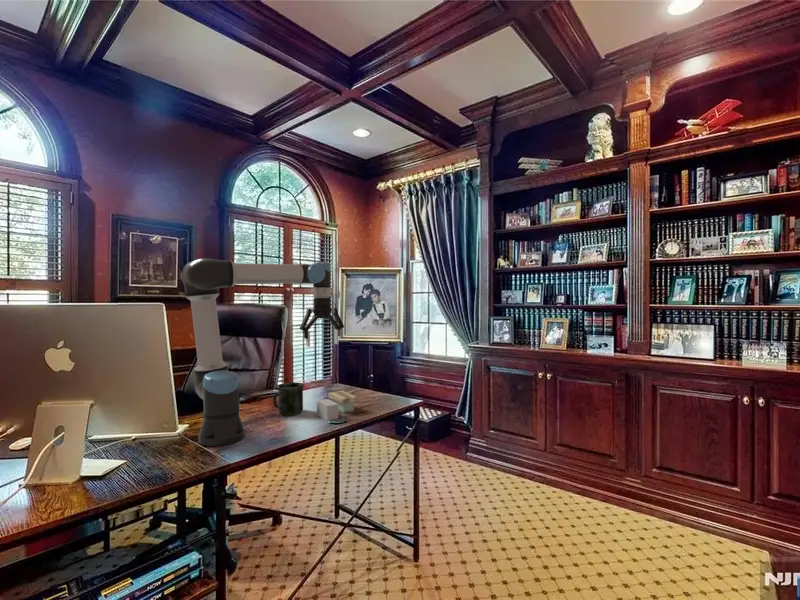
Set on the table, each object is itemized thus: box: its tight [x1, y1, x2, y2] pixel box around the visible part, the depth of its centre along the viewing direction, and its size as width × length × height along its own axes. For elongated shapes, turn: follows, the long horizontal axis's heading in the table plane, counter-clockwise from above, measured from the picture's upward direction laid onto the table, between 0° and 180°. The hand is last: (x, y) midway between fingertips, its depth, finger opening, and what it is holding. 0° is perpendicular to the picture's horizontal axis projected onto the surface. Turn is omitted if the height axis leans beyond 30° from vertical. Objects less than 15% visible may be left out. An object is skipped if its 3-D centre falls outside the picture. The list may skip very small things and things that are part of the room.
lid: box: [327, 390, 358, 404], centre depth 184 cm, size 7×14×2 cm, turn 34°
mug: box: [272, 382, 304, 416], centre depth 179 cm, size 11×15×12 cm
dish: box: [330, 398, 355, 414], centre depth 184 cm, size 5×12×4 cm, turn 34°
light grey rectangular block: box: [316, 398, 339, 422], centre depth 173 cm, size 5×10×6 cm, turn 34°
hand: (322, 345), depth 184 cm, fingers open, 13 cm apart
